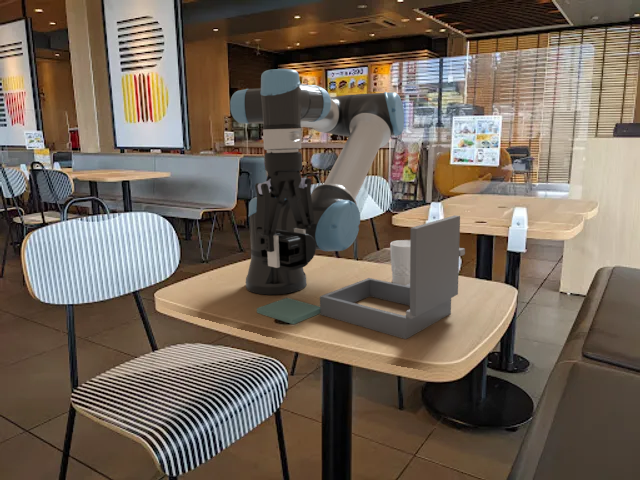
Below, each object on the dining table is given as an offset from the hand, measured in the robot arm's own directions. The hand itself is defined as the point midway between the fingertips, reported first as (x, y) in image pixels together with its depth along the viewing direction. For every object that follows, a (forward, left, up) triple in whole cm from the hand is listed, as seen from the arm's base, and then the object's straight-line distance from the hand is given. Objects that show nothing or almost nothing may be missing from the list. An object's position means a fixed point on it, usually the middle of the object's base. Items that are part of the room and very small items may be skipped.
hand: (287, 262), depth 106 cm
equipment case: (+17, +13, -11) cm, 24 cm away
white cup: (+7, +34, -11) cm, 36 cm away
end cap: (0, 0, 0) cm, 0 cm away
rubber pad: (0, 0, -11) cm, 11 cm away
